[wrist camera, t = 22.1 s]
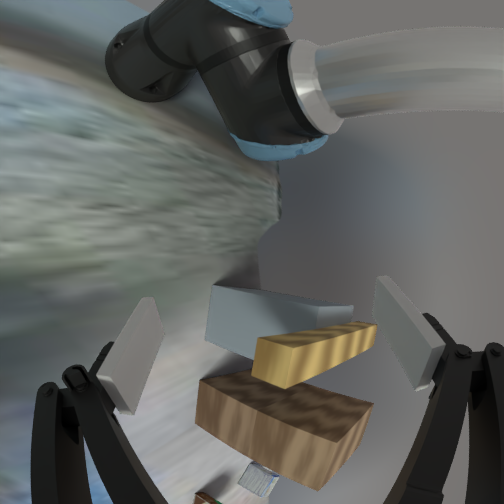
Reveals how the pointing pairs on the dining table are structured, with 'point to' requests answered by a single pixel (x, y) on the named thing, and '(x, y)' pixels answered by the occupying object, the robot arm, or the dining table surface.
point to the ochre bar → (309, 352)
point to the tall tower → (283, 424)
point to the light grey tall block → (265, 316)
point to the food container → (204, 499)
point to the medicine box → (258, 480)
